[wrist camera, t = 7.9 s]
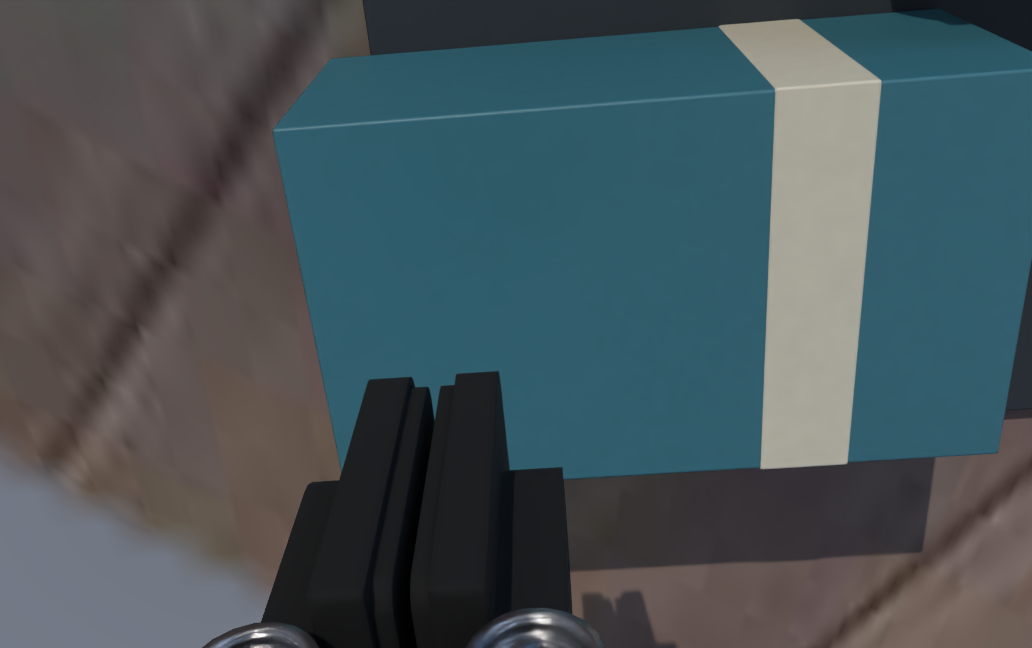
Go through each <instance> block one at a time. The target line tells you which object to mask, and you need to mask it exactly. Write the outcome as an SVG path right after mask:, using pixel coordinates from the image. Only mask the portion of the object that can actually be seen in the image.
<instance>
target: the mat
mask: <svg viewBox="0 0 1032 648" xmlns="http://www.w3.org/2000/svg"><path fill="white" fill-rule="evenodd" d="M363 6H364V13H365V19H366V26H367V33H368V39H369V46H370V53H371V55H383V54H395V53H407V52H419V51H431V50H444V49H456V48H468V47H480V46H492V45H504V44H516V43H528V42H540V41H553V40H565V39H577V38H589V37H601V36H613V35H625V34H637V33H649V32H662V31H674V30H686V29H698V28H710V27H718V26H720V25H730V24H742V23H754V22H766V21H778V20H790V19H800V20H807V19H819V18H831V17H843V16H855V15H868V14H880V13H892V12H904V11H916V10H928V9H941V10H943V11H945V12H948V13H950V14H952V15H954V16H956V17H958V18H960V19H963V20H965V21H967V22H969V23H971V24H973V25H976V26H978V27H980V28H982V29H984V30H986V31H989V32H991V33H993V34H995V35H997V36H999V37H1001V38H1004V39H1006V40H1008V41H1010V42H1012V43H1014V44H1017V45H1019V46H1021V47H1023V48H1025V49H1027V50H1029V51H1032V0H363ZM1019 409H1032V261H1031V266H1030V272H1029V278H1028V283H1027V289H1026V295H1025V301H1024V306H1023V312H1022V318H1021V323H1020V329H1019V335H1018V341H1017V346H1016V352H1015V358H1014V363H1013V369H1012V375H1011V380H1010V386H1009V392H1008V398H1007V403H1006V409H1005V410H1019Z"/></svg>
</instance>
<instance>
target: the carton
mask: <svg viewBox="0 0 1032 648" xmlns="http://www.w3.org/2000/svg"><path fill="white" fill-rule="evenodd" d="M273 137H274V142H275V147H276V152H277V157H278V162H279V167H280V172H281V177H282V181H283V186H284V191H285V196H286V201H287V206H288V211H289V216H290V221H291V226H292V231H293V236H294V241H295V246H296V250H297V255H298V260H299V265H300V270H301V275H302V280H303V285H304V290H305V295H306V300H307V305H308V310H309V315H310V319H311V324H312V329H313V334H314V339H315V344H316V349H317V354H318V359H319V364H320V369H321V374H322V379H323V384H324V388H325V393H326V398H327V403H328V408H329V413H330V418H331V423H332V428H333V433H334V438H335V443H336V448H337V453H338V457H339V462H340V467H341V472H342V469H343V466H344V462H345V459H346V455H347V452H348V448H349V445H350V441H351V438H352V434H353V431H354V427H355V424H356V421H357V417H358V414H359V410H360V407H361V403H362V400H363V396H364V393H365V389H366V386H367V383H368V381H369V380H370V379H384V378H399V377H412V378H413V380H414V384H415V387H429V389H430V393H431V398H432V405H433V412H434V419H435V417H436V410H437V404H438V398H439V391H440V387H441V386H445V385H455V378H456V374H460V373H475V372H490V371H499V375H500V382H501V391H502V400H503V410H504V419H505V429H506V438H507V448H508V458H509V467H510V470H521V469H537V468H554V467H562V468H563V479H564V480H566V479H582V478H599V477H615V476H632V475H648V474H665V473H681V472H698V471H714V470H731V469H748V468H760V469H778V468H794V467H811V466H827V465H844V464H847V463H848V462H863V461H880V460H896V459H913V458H929V457H946V456H962V455H979V454H995V453H997V452H998V449H999V443H1000V438H1001V432H1002V426H1003V420H1004V415H1005V409H1006V403H1007V398H1008V392H1009V386H1010V380H1011V375H1012V369H1013V363H1014V358H1015V352H1016V346H1017V341H1018V335H1019V329H1020V323H1021V318H1022V312H1023V306H1024V301H1025V295H1026V289H1027V283H1028V278H1029V272H1030V266H1031V261H1032V51H1029V50H1027V49H1025V48H1023V47H1021V46H1019V45H1017V44H1014V43H1012V42H1010V41H1008V40H1006V39H1004V38H1001V37H999V36H997V35H995V34H993V33H991V32H989V31H986V30H984V29H982V28H980V27H978V26H976V25H973V24H971V23H969V22H967V21H965V20H963V19H960V18H958V17H956V16H954V15H952V14H950V13H948V12H945V11H943V10H941V9H928V10H916V11H904V12H892V13H880V14H868V15H855V16H843V17H831V18H819V19H807V20H800V19H790V20H778V21H766V22H754V23H742V24H730V25H720V26H718V27H710V28H698V29H686V30H674V31H662V32H649V33H637V34H625V35H613V36H601V37H589V38H577V39H565V40H553V41H540V42H528V43H516V44H504V45H492V46H480V47H468V48H456V49H444V50H431V51H419V52H407V53H395V54H383V55H371V56H359V57H347V58H335V59H331V60H330V61H329V62H328V63H327V64H326V65H325V67H324V68H323V69H322V70H321V72H320V73H319V74H318V75H317V76H316V78H315V79H314V80H313V81H312V82H311V84H310V85H309V86H308V87H307V89H306V90H305V91H304V92H303V93H302V95H301V96H300V97H299V98H298V99H297V101H296V102H295V103H294V104H293V106H292V107H291V108H290V109H289V110H288V112H287V113H286V114H285V115H284V116H283V118H282V119H281V120H280V121H279V123H278V124H277V125H276V126H275V127H274V129H273Z"/></svg>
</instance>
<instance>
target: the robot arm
mask: <svg viewBox="0 0 1032 648" xmlns="http://www.w3.org/2000/svg"><path fill="white" fill-rule="evenodd" d="M203 648H605V646H604V644H603V642H602V640H601V638H600V636H599V634H598V632H597V631H595V630H594V629H593V628H592V627H591V626H590V625H589V624H588V623H587V622H585V621H584V620H583V619H581V618H579V617H576V616H574V615H572V599H571V581H570V564H569V548H568V533H567V519H566V506H565V492H564V479H563V468H562V467H554V468H537V469H521V470H510V467H509V458H508V448H507V438H506V429H505V419H504V410H503V400H502V391H501V382H500V375H499V371H490V372H475V373H460V374H456V378H455V385H445V386H441V387H440V391H439V398H438V404H437V410H436V417H435V419H434V412H433V405H432V398H431V393H430V389H429V387H415V384H414V380H413V378H412V377H399V378H384V379H370V380H369V381H368V383H367V386H366V389H365V393H364V396H363V400H362V403H361V407H360V410H359V414H358V417H357V421H356V424H355V427H354V431H353V434H352V438H351V441H350V445H349V448H348V452H347V455H346V459H345V462H344V466H343V469H342V473H341V476H340V480H339V481H323V482H312V483H310V484H309V485H308V486H307V488H306V490H305V492H304V495H303V498H302V501H301V504H300V507H299V510H298V513H297V516H296V519H295V522H294V525H293V528H292V531H291V534H290V537H289V540H288V543H287V546H286V549H285V552H284V555H283V558H282V561H281V564H280V567H279V570H278V573H277V576H276V579H275V582H274V585H273V588H272V591H271V594H270V597H269V600H268V603H267V606H266V609H265V612H264V615H263V618H262V621H261V623H253V624H250V625H246V626H242V627H239V628H235V629H232V630H230V631H228V632H226V633H224V634H222V635H221V636H219V637H216V638H214V639H213V640H211V641H210V642H209V643H207V644H206V645H205V646H204V647H203Z"/></svg>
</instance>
